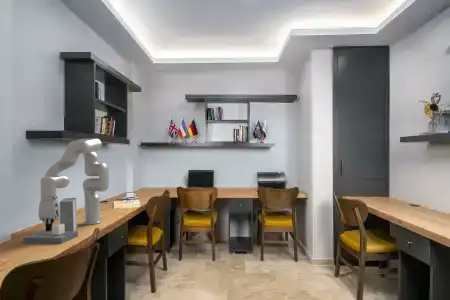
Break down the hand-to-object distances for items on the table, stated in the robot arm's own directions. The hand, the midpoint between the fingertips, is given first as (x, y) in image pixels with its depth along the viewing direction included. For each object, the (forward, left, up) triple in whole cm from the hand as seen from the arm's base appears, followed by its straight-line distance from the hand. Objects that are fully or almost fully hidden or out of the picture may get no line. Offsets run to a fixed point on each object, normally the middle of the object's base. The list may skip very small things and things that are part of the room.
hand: (49, 230), depth 164 cm
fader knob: (0, +6, -2) cm, 6 cm away
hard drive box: (-19, -1, -5) cm, 20 cm away
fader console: (0, +2, -5) cm, 5 cm away
